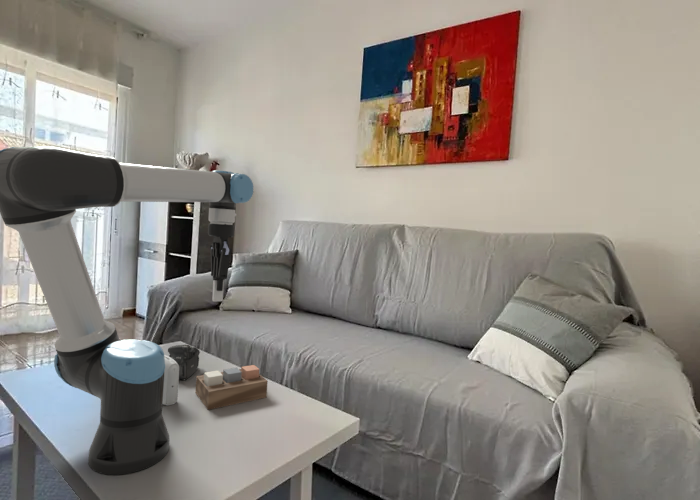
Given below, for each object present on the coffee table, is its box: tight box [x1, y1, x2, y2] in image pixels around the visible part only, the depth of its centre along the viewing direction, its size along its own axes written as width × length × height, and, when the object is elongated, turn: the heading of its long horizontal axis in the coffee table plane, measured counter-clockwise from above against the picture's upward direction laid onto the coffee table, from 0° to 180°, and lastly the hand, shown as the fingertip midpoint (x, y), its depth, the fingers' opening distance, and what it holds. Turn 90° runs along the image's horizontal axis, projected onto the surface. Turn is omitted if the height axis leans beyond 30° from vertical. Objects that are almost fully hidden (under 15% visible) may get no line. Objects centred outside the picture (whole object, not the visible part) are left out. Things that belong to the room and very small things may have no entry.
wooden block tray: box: [195, 368, 268, 411], centre depth 117 cm, size 12×17×5 cm
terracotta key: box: [240, 364, 260, 380], centre depth 120 cm, size 4×4×5 cm
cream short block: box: [203, 370, 223, 387], centre depth 113 cm, size 4×4×5 cm
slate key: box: [222, 367, 242, 383], centre depth 116 cm, size 4×4×5 cm
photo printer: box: [162, 354, 180, 406], centre depth 111 cm, size 10×4×12 cm, turn 56°
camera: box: [167, 343, 201, 381], centre depth 129 cm, size 13×10×10 cm
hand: (217, 300), depth 121 cm, fingers closed
